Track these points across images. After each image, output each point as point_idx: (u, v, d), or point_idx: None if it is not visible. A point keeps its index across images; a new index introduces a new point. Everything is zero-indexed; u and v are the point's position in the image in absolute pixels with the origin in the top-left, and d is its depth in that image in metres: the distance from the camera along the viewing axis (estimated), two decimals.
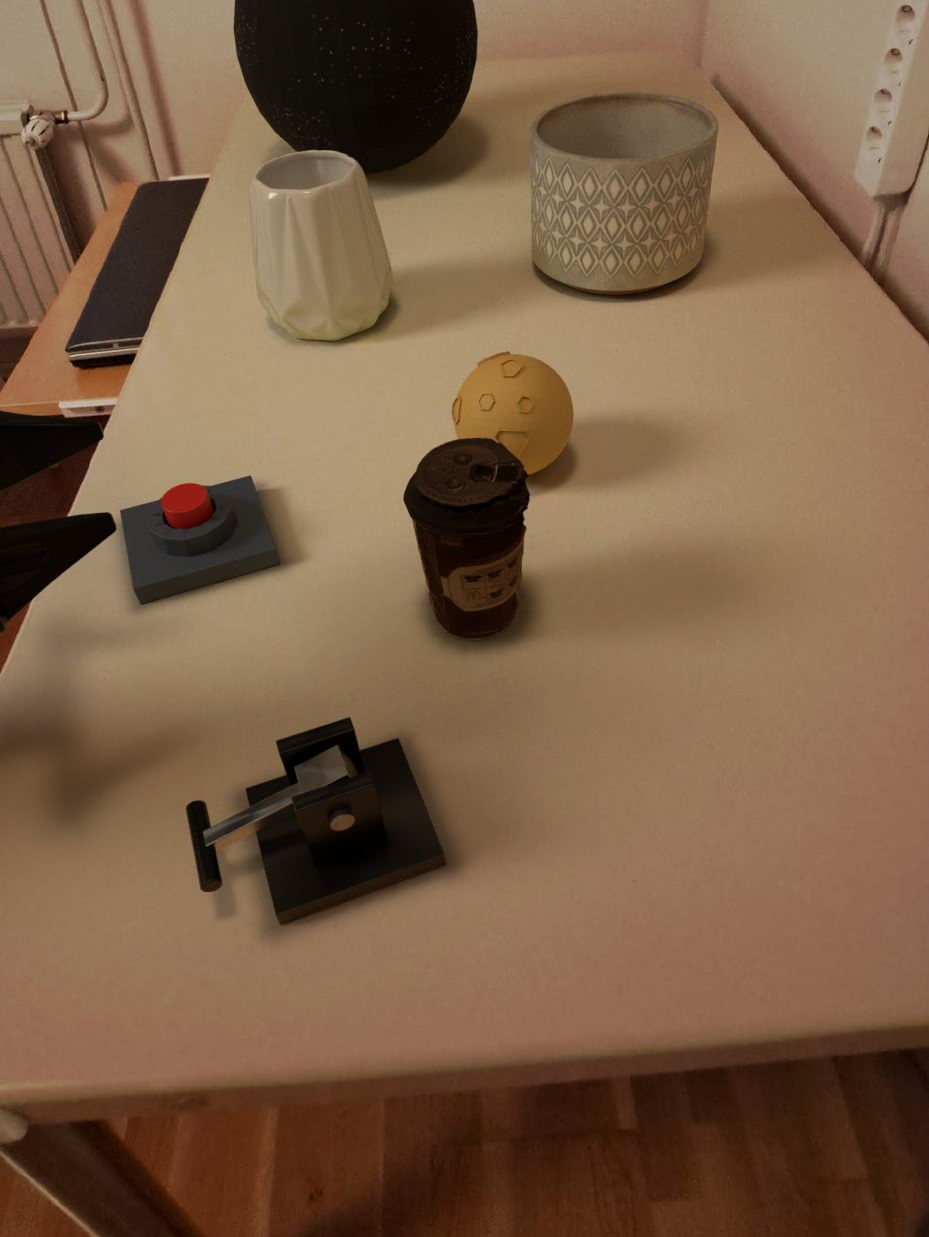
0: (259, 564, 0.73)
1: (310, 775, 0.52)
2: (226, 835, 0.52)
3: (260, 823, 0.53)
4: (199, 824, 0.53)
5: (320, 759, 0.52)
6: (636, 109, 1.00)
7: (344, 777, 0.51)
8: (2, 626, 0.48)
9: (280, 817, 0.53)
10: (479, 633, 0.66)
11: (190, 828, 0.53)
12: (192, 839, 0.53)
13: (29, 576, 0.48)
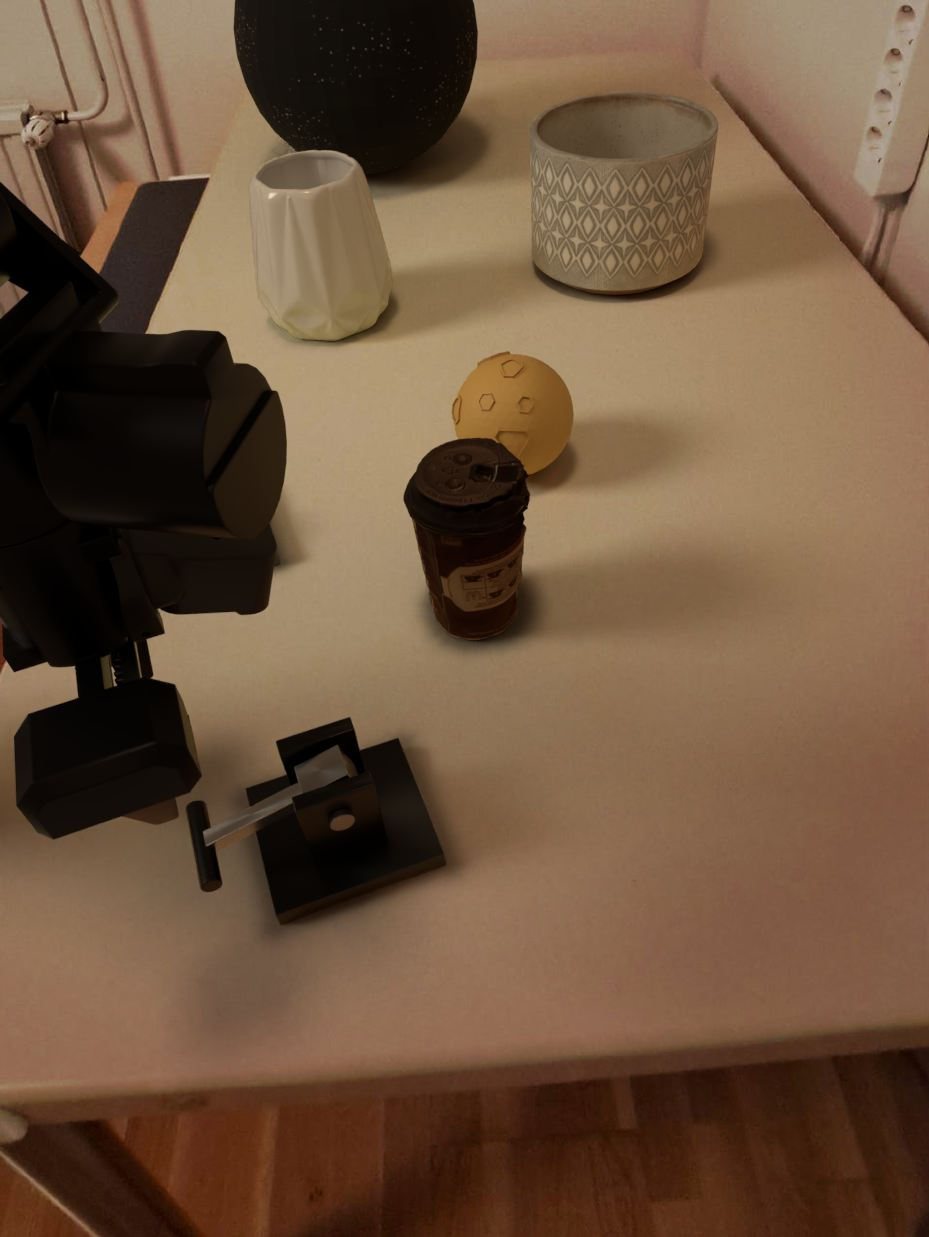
0: None
1: (310, 775, 0.52)
2: (226, 835, 0.52)
3: (260, 823, 0.53)
4: (199, 824, 0.53)
5: (320, 759, 0.52)
6: (636, 109, 1.00)
7: (344, 777, 0.51)
8: None
9: (280, 817, 0.53)
10: (479, 633, 0.66)
11: (190, 828, 0.53)
12: (192, 839, 0.53)
13: None
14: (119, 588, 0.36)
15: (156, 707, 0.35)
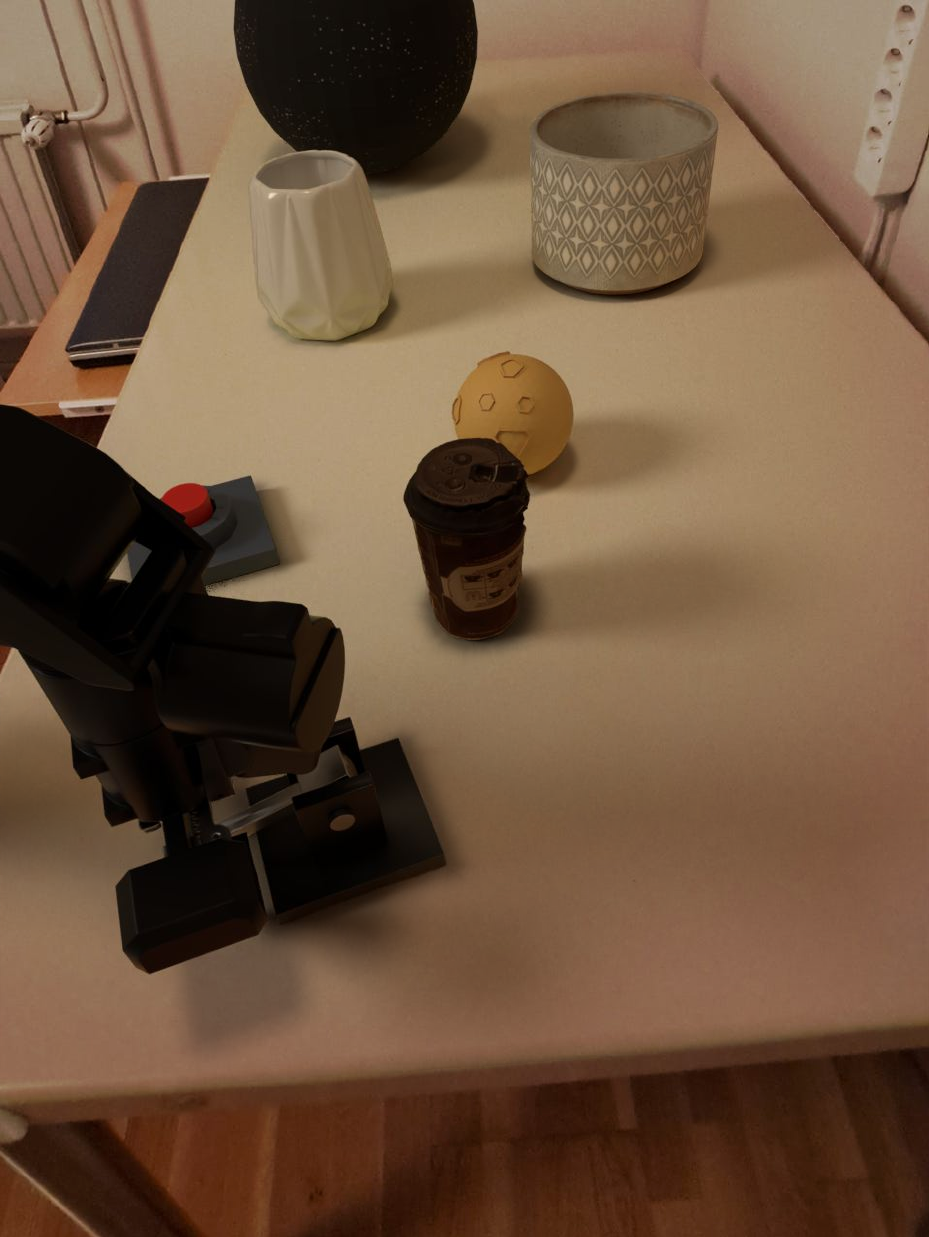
0: (259, 564, 0.73)
1: (310, 775, 0.52)
2: None
3: (260, 823, 0.53)
4: None
5: (320, 759, 0.52)
6: (636, 109, 1.00)
7: (344, 777, 0.51)
8: None
9: (280, 817, 0.53)
10: (479, 633, 0.66)
11: (190, 828, 0.53)
12: None
13: None
14: (202, 765, 0.44)
15: (233, 866, 0.43)
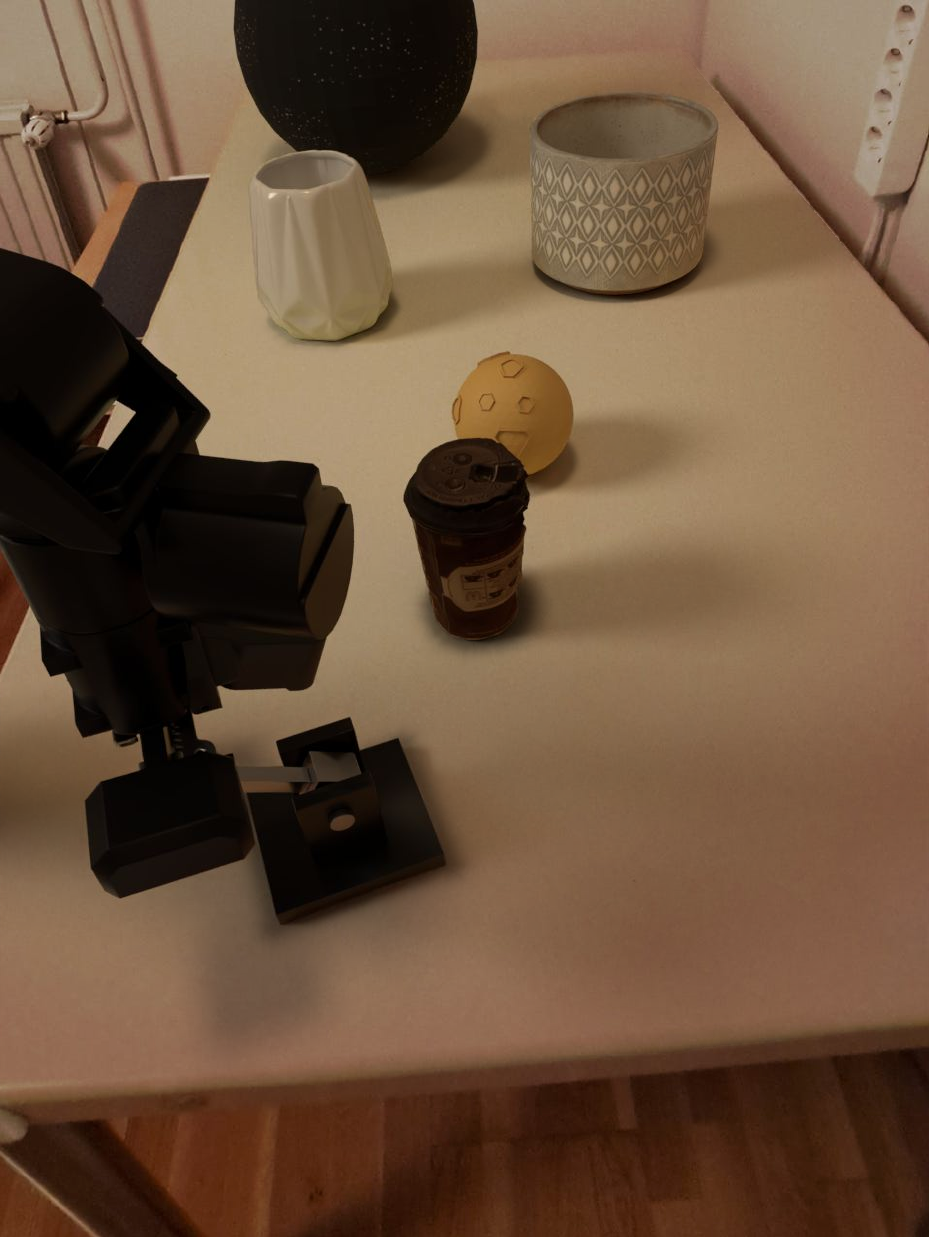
0: None
1: (327, 766, 0.52)
2: None
3: (256, 786, 0.50)
4: None
5: (337, 757, 0.53)
6: (636, 109, 1.00)
7: None
8: None
9: (273, 790, 0.51)
10: (479, 633, 0.66)
11: None
12: None
13: None
14: (187, 668, 0.39)
15: (218, 781, 0.38)
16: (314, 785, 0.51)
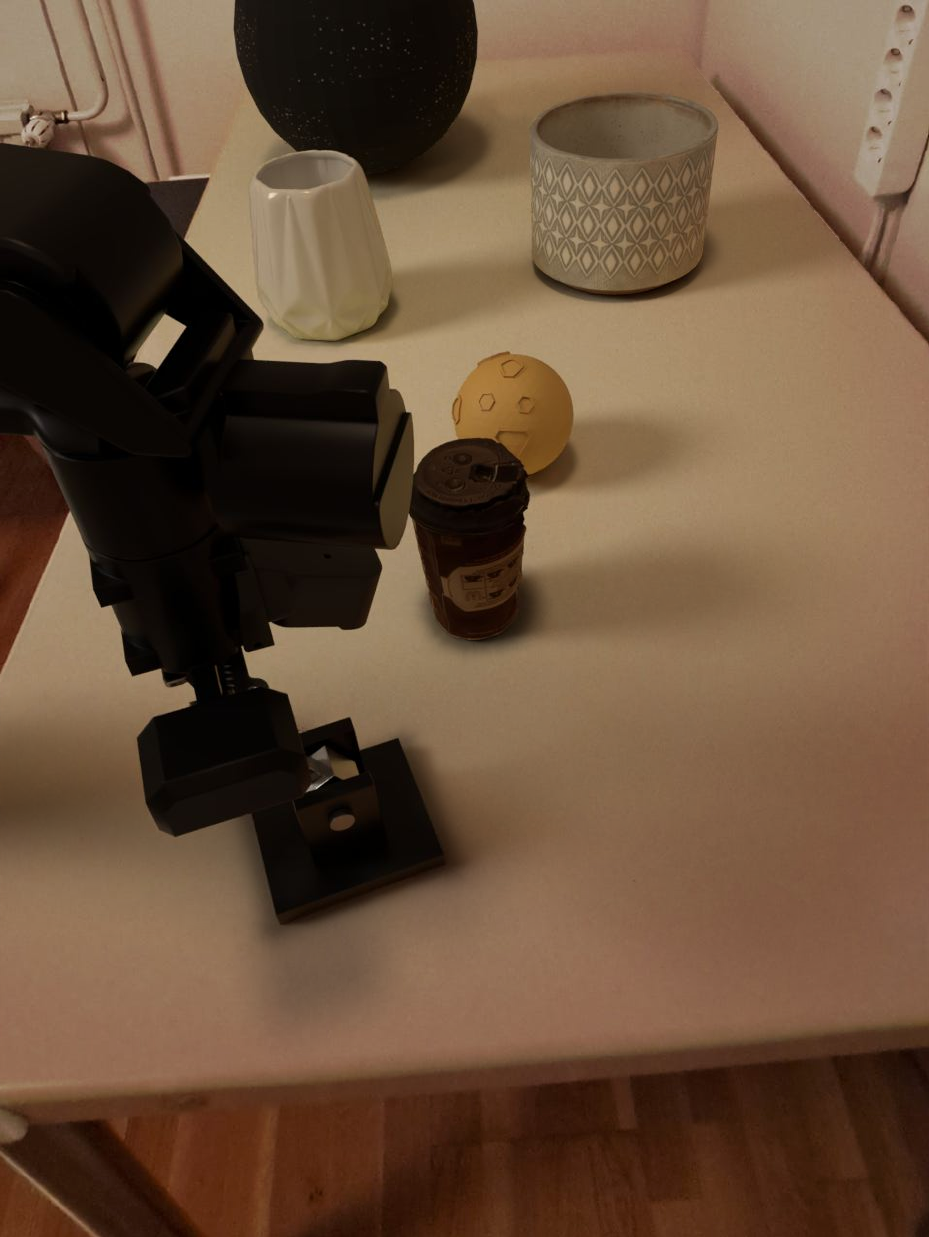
0: None
1: (338, 765, 0.52)
2: None
3: None
4: None
5: (344, 760, 0.53)
6: (636, 109, 1.00)
7: None
8: None
9: None
10: (479, 633, 0.66)
11: None
12: None
13: None
14: (241, 601, 0.38)
15: (275, 715, 0.37)
16: (327, 779, 0.51)
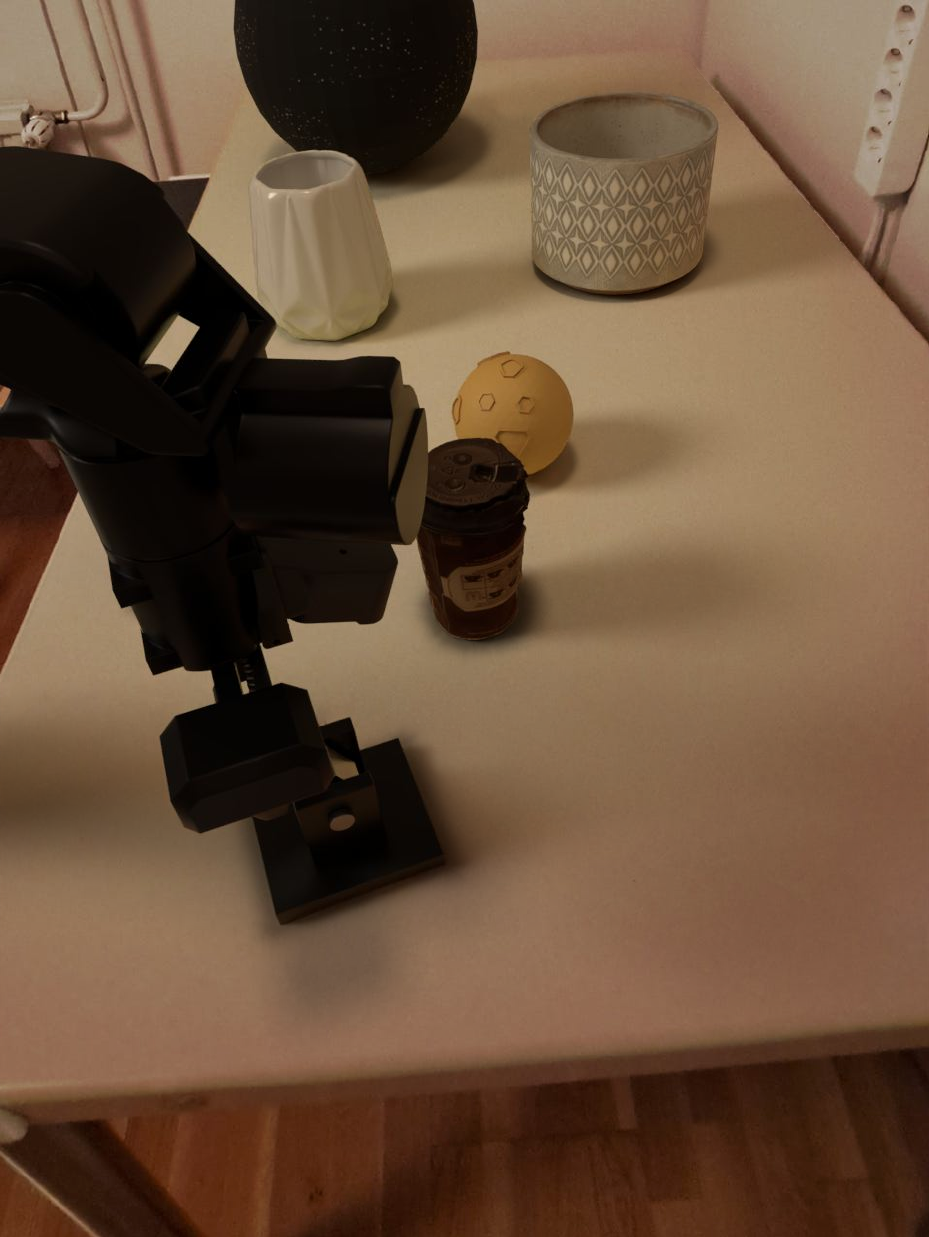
0: None
1: (339, 765, 0.52)
2: None
3: None
4: None
5: (344, 760, 0.53)
6: (636, 109, 1.00)
7: None
8: None
9: None
10: (479, 633, 0.66)
11: None
12: None
13: None
14: (259, 599, 0.38)
15: (295, 711, 0.37)
16: None
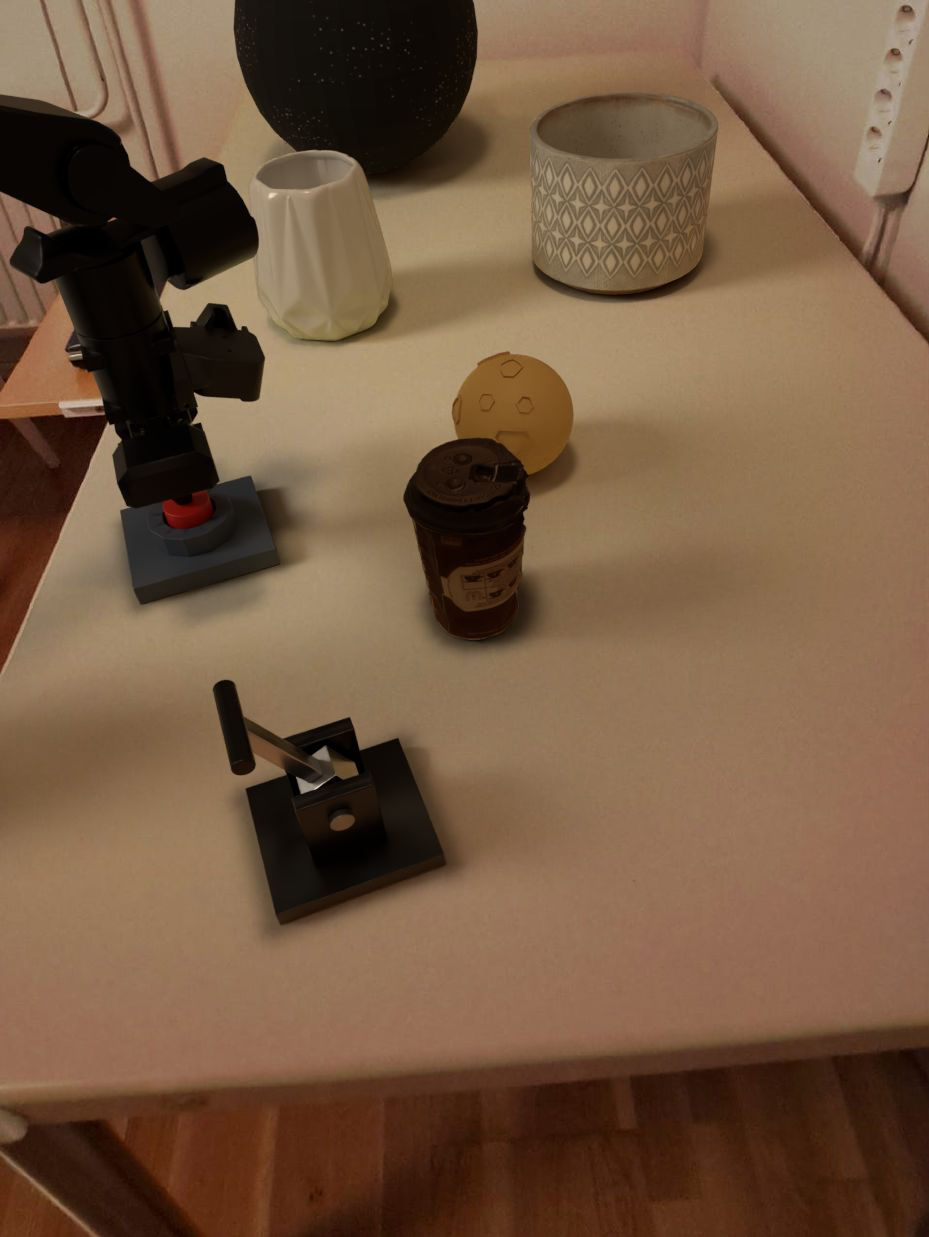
0: (259, 564, 0.73)
1: (339, 765, 0.52)
2: (262, 740, 0.48)
3: (282, 758, 0.49)
4: (241, 707, 0.48)
5: (344, 760, 0.53)
6: (636, 109, 1.00)
7: None
8: None
9: (289, 769, 0.50)
10: (479, 633, 0.66)
11: (231, 701, 0.47)
12: (234, 712, 0.47)
13: None
14: (173, 372, 0.62)
15: (194, 437, 0.61)
16: (328, 778, 0.51)
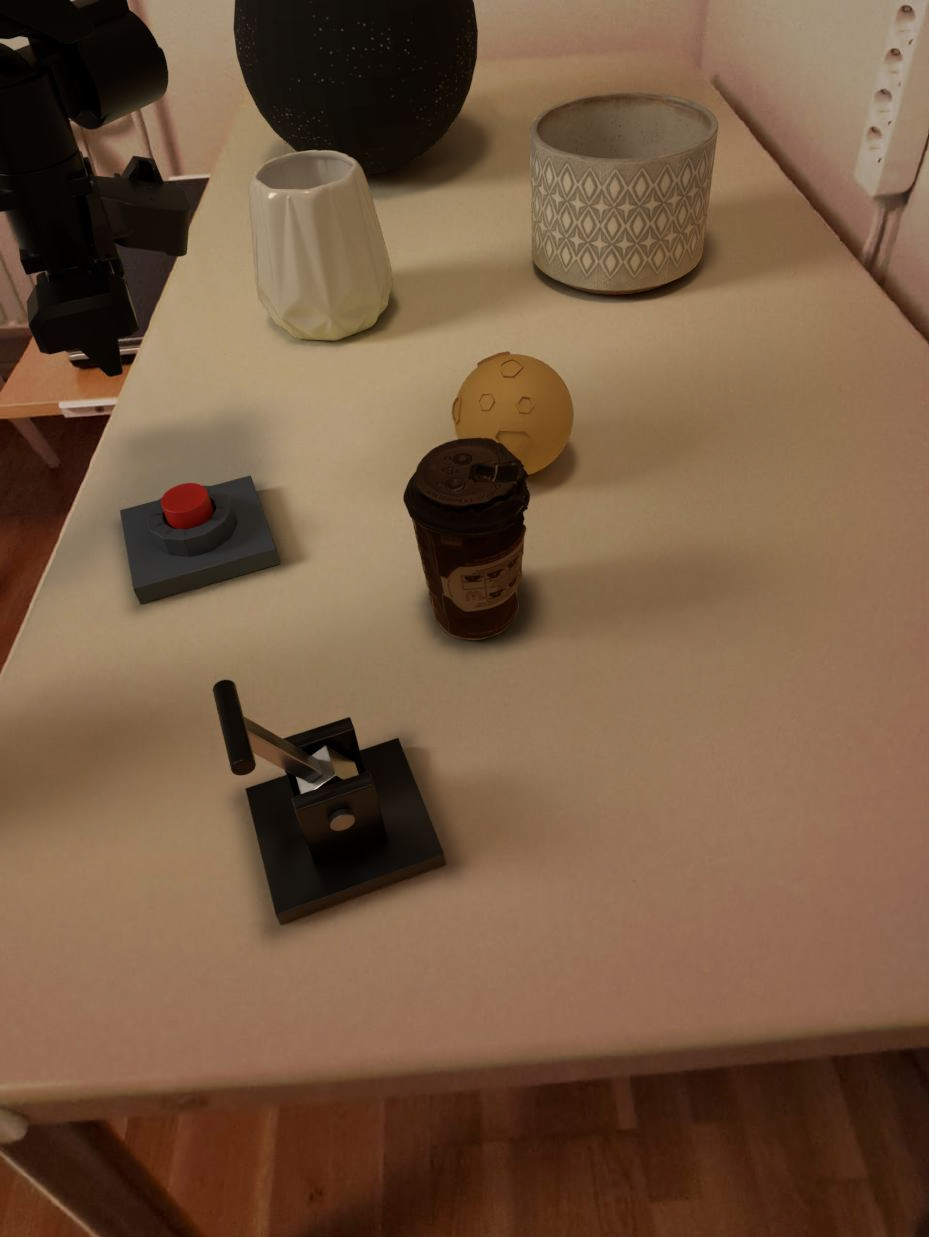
0: (259, 564, 0.73)
1: (339, 765, 0.52)
2: (262, 740, 0.48)
3: (282, 758, 0.49)
4: (241, 707, 0.48)
5: (344, 760, 0.53)
6: (636, 109, 1.00)
7: None
8: None
9: (289, 769, 0.50)
10: (479, 633, 0.66)
11: (231, 701, 0.47)
12: (234, 712, 0.47)
13: None
14: (91, 217, 0.60)
15: (112, 282, 0.59)
16: (328, 778, 0.51)
